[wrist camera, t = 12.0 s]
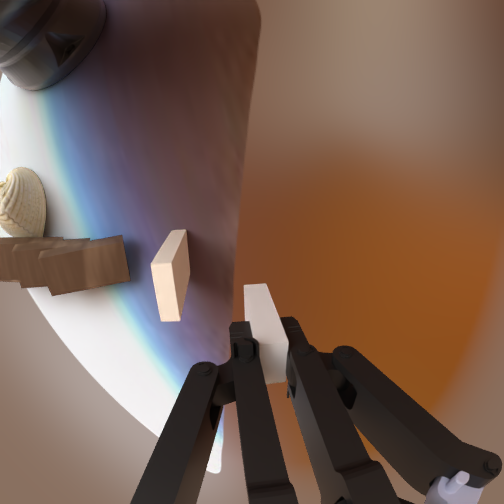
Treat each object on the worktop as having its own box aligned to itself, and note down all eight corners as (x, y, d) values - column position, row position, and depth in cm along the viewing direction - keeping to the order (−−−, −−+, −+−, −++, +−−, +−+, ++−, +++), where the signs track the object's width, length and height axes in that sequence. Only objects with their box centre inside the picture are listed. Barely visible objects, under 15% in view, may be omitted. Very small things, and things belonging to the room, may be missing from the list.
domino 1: (66, 272, 28) (2, 272, 23) (63, 236, 26) (-5, 237, 21) (65, 279, 27) (-1, 279, 22) (61, 243, 25) (-9, 244, 20)
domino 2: (93, 274, 29) (24, 280, 24) (89, 238, 26) (14, 244, 22) (93, 282, 28) (21, 288, 23) (89, 244, 25) (11, 251, 20)
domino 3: (129, 272, 29) (53, 287, 25) (122, 234, 27) (40, 251, 22) (130, 280, 28) (51, 296, 24) (123, 241, 26) (37, 259, 21)
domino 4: (176, 273, 30) (161, 321, 21) (171, 230, 28) (150, 263, 19) (190, 272, 30) (180, 320, 21) (186, 229, 29) (171, 262, 19)
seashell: (20, 145, 20) (28, 187, 19) (48, 182, 28) (63, 223, 27) (-24, 187, 18) (-21, 235, 16) (9, 217, 26) (20, 261, 24)
